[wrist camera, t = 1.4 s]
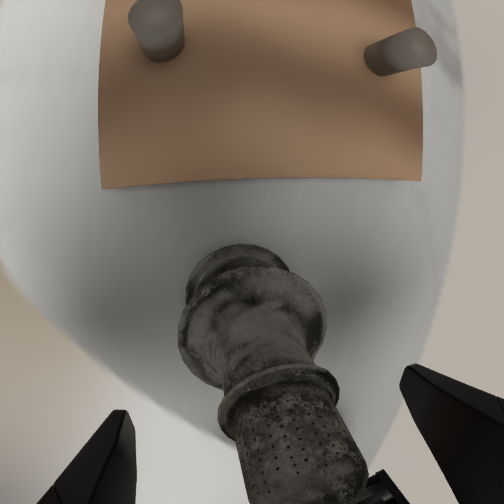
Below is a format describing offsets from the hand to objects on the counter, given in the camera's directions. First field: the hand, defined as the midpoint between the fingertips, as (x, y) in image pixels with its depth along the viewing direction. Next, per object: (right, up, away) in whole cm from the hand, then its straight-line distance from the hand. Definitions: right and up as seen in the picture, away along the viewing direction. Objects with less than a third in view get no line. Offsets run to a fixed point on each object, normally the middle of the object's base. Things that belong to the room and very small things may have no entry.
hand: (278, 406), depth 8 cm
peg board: (0, +17, +1) cm, 17 cm away
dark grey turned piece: (-1, +2, +7) cm, 7 cm away
